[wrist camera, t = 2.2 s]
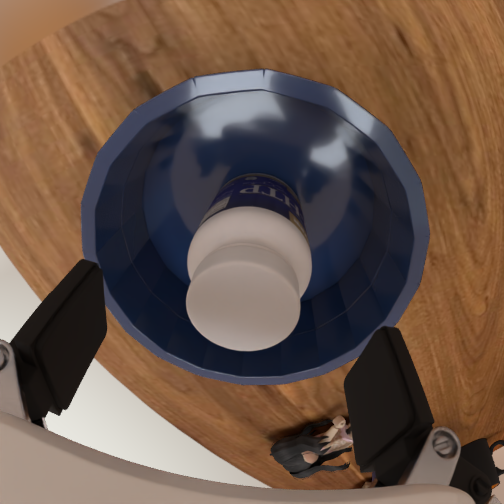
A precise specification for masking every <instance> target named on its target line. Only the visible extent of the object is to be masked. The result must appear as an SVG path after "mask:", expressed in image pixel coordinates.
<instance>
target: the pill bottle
mask: <svg viewBox="0 0 504 504" xmlns="http://www.w3.org/2000/svg"><path fill="white" fill-rule="evenodd" d="M187 266H188V273H189V277H190V280H191V283H190V286H189V289H188V292H187V297H186V308H187V313H188V316H189V318H190V320H191V322H192V324H193V325H194V327H195V328H196V329H197V330H198V331H199V332H200V333H201V334H202V335H203V336H204V337H205V338H207V339H208V340H210V341H211V342H213V343H215V344H217V345H219V346H222V347H225V348H228V349H232V350H238V351H256V350H262V349H266V348H269V347H271V346H274V345H276V344H278V343H279V342H281V341H282V340H284V339H285V338H287V337H288V336H289V335H290V333H291V332H292V331H293V330H294V328H295V326H296V325H297V322H298V320H299V316H300V298H301V297H302V295H303V294H304V292H305V290H306V289H307V286H308V284H309V281H310V277H311V272H312V259H311V251H310V246H309V242H308V236H307V231H306V227H305V222H304V217H303V213H302V208H301V205H300V202H299V200H298V198H297V196H296V194H295V193H294V191H293V190H292V189H291V188H290V187H289V186H288V185H287V184H286V183H285V182H283V181H282V180H280V179H278V178H276V177H274V176H271V175H268V174H262V173H249V174H244V175H241V176H238V177H236V178H234V179H232V180H230V181H229V182H228V183H226V184H225V185H224V186H223V187H222V188H221V189H220V191H219V192H218V193H217V195H216V196H215V198H214V200H213V202H212V203H211V205H210V207H209V209H208V211H207V212H206V214H205V216H204V218H203V220H202V221H201V223H200V225H199V227H198V229H197V231H196V233H195V235H194V237H193V239H192V242H191V244H190V247H189V251H188V258H187Z"/></svg>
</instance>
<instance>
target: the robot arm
mask: <svg viewBox="0 0 504 504" xmlns="http://www.w3.org/2000/svg"><path fill="white" fill-rule="evenodd" d="M106 333H107V320H106V310H105V297H104V282H103V270H102V269H101V268H99V265H98V263H96V262H92V261H89V260H85V259H81V260H80V261H79V262H78V263H77V264H76V265H75V266H74V267H73V269H72V270H71V271H70V272H69V273H68V274H67V275H66V276H65V277H64V279H63V280H62V281H61V282H60V283H59V284H58V285H57V287H56V288H55V289H54V290H53V291H52V292H51V293H49V294H48V296H47V297H46V298H45V299H44V300H43V302H42V303H41V304H40V305H39V306H38V308H37V309H36V310H35V311H34V313H33V314H32V315H31V316H30V317H29V319H28V320H27V321H26V322H25V324H24V325H23V326H22V328H21V329H20V330H19V332H18V333H17V334H16V336H15V337H14V338H13V339H12V341H11V342H10V343H8V342H6V341H4V340H1V339H0V504H501V503H500V501H499V500H498V499H497V498H496V496H495V495H492V496H491V493H492V485H491V482H490V480H489V478H488V476H487V475H486V474H484V473H483V472H482V471H480V470H479V469H478V468H476V467H475V466H473V465H472V464H471V463H469V462H468V461H467V460H465V459H464V458H463V457H461V456H460V451H461V445H460V441H459V439H458V437H457V435H456V434H455V433H454V432H453V431H452V430H451V429H449V428H447V427H443V426H439V427H435V428H434V429H433V427H432V424H433V423H434V419H433V416H432V413H431V410H430V407H429V404H428V401H427V398H426V396H425V393H424V390H423V387H422V385H421V382H420V379H419V377H418V374H417V372H416V369H415V366H414V364H413V361H412V359H411V356H410V354H409V351H408V349H407V347H406V344H405V342H404V339H403V337H402V335H401V332H400V330H399V329H398V328H395V327H388V326H382V327H381V328H380V329H377V330H376V331H375V332H374V334H373V336H372V337H371V339H370V340H369V342H368V344H367V345H366V347H365V348H364V350H363V352H362V353H361V355H360V356H359V358H358V359H357V361H356V362H355V364H354V365H353V367H352V368H351V370H350V371H349V373H348V374H347V376H346V378H345V380H344V390H345V396H346V402H347V408H348V414H349V420H350V426H351V432H352V439H353V446H354V453H355V460H356V463H357V465H360V472H361V473H363V472H374V471H375V476H376V477H375V479H374V480H373V482H372V483H371V485H370V486H369V488H364V489H346V490H290V489H273V488H260V487H251V486H241V485H234V484H227V483H220V482H214V481H208V480H203V479H197V478H192V477H188V476H183V475H178V474H174V473H170V472H166V471H162V470H158V469H154V468H150V467H147V466H143V465H140V464H136V463H132V462H130V461H126V460H123V459H120V458H117V457H114V456H111V455H109V454H106V453H103V452H100V451H97V450H95V449H92V448H89V447H87V446H84V445H82V444H79V443H76V442H74V441H72V440H69V439H67V438H65V437H62V436H60V435H58V434H55V433H53V432H51V431H49V430H48V428H47V425H46V421H45V417H46V415H47V413H48V411H50V412H52V413H54V414H56V415H58V416H60V414H61V412H62V410H63V409H64V410H66V409H67V408H68V407H69V405H70V403H71V401H72V399H73V397H74V395H75V393H76V391H77V389H78V387H79V385H80V383H81V381H82V379H83V377H84V375H85V373H86V371H87V369H88V367H89V366H90V363H91V362H92V360H93V358H94V356H95V354H96V353H97V351H98V349H99V347H100V345H101V343H102V342H103V340H104V338H105V336H106Z"/></svg>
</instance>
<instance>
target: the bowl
mask: <svg viewBox="0 0 504 504" xmlns="http://www.w3.org/2000/svg"><path fill="white" fill-rule="evenodd" d="M249 173H262V174H268V175H271V176H274V177H276V178H278V179H280V180H282V181H283V182H285V183H286V184H287V185H288V186H289V187H290V188H291V189H292V190H293V191H294V193H295V194H296V196H297V198H298V200H299V202H300V205H301V208H302V213H303V217H304V222H305V227H306V231H307V236H308V242H309V246H310V251H311V259H312V272H311V277H310V281H309V284H308V286H307V289H306V290H305V292H304V294H303V295H302V297H301V298H300V316H299V320H298V322H297V325H296V326H295V328H294V330H293V331H292V332H291V333H290V335H289V336H288V337H287V338H285V339H284V340H282V341H281V342H279V343H278V344H276V345H274V346H271V347H269V348H266V349H262V350H256V351H238V350H232V349H228V348H225V347H222V346H219V345H217V344H215V343H213V342H211V341H210V340H208V339H207V338H205V337H204V336H203V335H202V334H201V333H200V332H199V331H198V330H197V329H196V328H195V327H194V325H193V324H192V322H191V320H190V318H189V316H188V313H187V308H186V297H187V292H188V289H189V286H190V283H191V280H190V277H189V273H188V266H187V258H188V251H189V247H190V244H191V242H192V239H193V237H194V235H195V233H196V231H197V229H198V227H199V225H200V223H201V221H202V220H203V218H204V216H205V214H206V212H207V211H208V209H209V207H210V205H211V203H212V202H213V200H214V198H215V196H216V195H217V193H218V192H219V191H220V189H221V188H222V187H223V186H224V185H225V184H226V183H228V182H229V181H230V180H232V179H234V178H236V177H238V176H241V175H244V174H249ZM81 232H82V251H83V255H84V258H85V260H89V261H92V262H96V263H98V265H99V268H101V269H102V270H103V282H104V297H105V305H106V306H107V308H108V309H109V310H110V312H111V313H112V314H113V316H114V317H115V318H116V320H117V321H118V322H119V324H120V325H121V326H122V328H123V329H124V330H125V331H126V332H127V333H128V334H129V335H131V336H132V337H133V338H134V339H135V340H137V341H138V342H139V343H140V344H142V345H143V346H144V347H145V348H147V349H148V350H149V351H151V352H152V353H153V354H155V355H156V356H157V357H160V358H161V359H163V360H165V361H167V362H169V363H171V364H173V365H176V366H178V367H180V368H182V369H184V370H186V371H189V372H191V373H193V374H195V375H199V376H201V377H206V378H210V379H215V380H220V381H224V382H229V383H234V384H241V385H280V384H287V383H292V382H296V381H300V380H304V379H308V378H312V377H316V376H320V375H324V374H325V373H329V372H331V371H332V370H334V369H336V368H338V367H340V366H342V365H344V364H346V363H348V362H350V361H352V360H354V359H356V358H357V357H359V356H360V355H361V353H362V352H363V350H364V348H365V347H366V345H367V344H368V342H369V340H370V339H371V337H372V336H373V334H374V332H375V331H376V330H377V329H380V328H381V327H382V326H388V327H394V326H395V325H396V323H398V321H399V320H400V318H401V316H402V315H403V313H404V311H405V310H406V308H407V306H408V305H409V303H410V301H411V300H412V298H413V296H414V294H415V293H416V291H417V289H418V287H419V285H420V282H421V279H422V274H423V269H424V265H425V260H426V255H427V249H428V244H429V238H430V236H429V235H430V230H429V223H428V216H427V210H426V204H425V198H424V192H423V187H422V182H421V180H420V178H419V176H418V174H417V172H416V171H415V169H414V167H413V165H412V164H411V162H410V160H409V159H408V157H407V155H406V154H405V152H404V150H403V149H402V147H401V145H400V144H399V142H398V141H397V139H396V137H395V136H394V134H393V133H392V131H391V130H390V129H389V128H388V127H387V126H386V125H385V124H383V123H382V122H381V121H380V120H378V119H377V118H376V117H375V116H373V115H372V114H371V113H370V112H368V111H367V110H366V109H364V108H363V107H362V106H360V105H359V104H358V103H356V102H355V101H354V100H352V99H351V98H349V97H348V96H347V95H345V94H344V93H342V92H341V91H340V90H338V89H337V88H334V87H332V86H329V85H326V84H323V83H319V82H316V81H313V80H309V79H306V78H302V77H298V76H294V75H291V74H287V73H283V72H279V71H274V70H270V69H265V70H264V69H250V70H240V71H230V72H222V73H214V74H207V75H200V76H195V77H194V78H189V79H187V80H185V81H184V82H182V83H180V84H178V85H176V86H174V87H172V88H170V89H168V90H166V91H164V92H163V93H161V94H159V95H157V96H155V97H154V98H152V99H150V100H148V101H147V102H145V103H143V104H141V105H140V106H138V107H137V108H136V109H134V110H133V111H132V112H131V113H130V114H129V115H128V116H127V118H126V119H125V120H124V121H123V122H122V123H121V125H120V126H119V127H118V128H117V129H116V131H115V132H114V133H113V134H112V135H111V137H110V138H109V139H108V140H107V142H106V143H105V144H104V145H103V147H102V148H101V149H100V151H99V152H98V153H97V156H96V158H95V161H94V164H93V167H92V170H91V173H90V176H89V179H88V182H87V185H86V188H85V191H84V195H83V198H82V201H81Z"/></svg>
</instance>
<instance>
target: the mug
mask: <svg viewBox="0 0 504 504" xmlns="http://www.w3.org/2000/svg"><path fill="white" fill-rule="evenodd" d="M498 444H502V445H503V446H504V440H499V441H496V442H494V443H493V444H492V445H491V446H490V448H489V446H488V443H487V440H486V439H479V440H476V441H473V442H471V443H469V444H467V445H465V446H463V447H462V448H461V451H460V456H461V457H463V458H464V459H465V460H467V461H468V462H469V463H471V464H472V465H473V466H475V467H476V468H478V469H479V470H480V471H482V472H483V473H484V474H486V475H487V476H488V478H489V480H490V482H491V485H492V489H493V488H495V487H496V486H498V485H499V484H500V481H499V477H498V476H500V475H501V474H504V470H501V469H499V468H497V467H495V464H494V461H493V458H492V454H493V448H494V447H495V446H496V445H498Z"/></svg>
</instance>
